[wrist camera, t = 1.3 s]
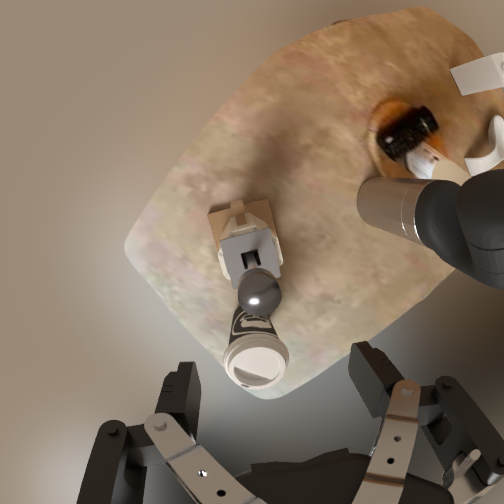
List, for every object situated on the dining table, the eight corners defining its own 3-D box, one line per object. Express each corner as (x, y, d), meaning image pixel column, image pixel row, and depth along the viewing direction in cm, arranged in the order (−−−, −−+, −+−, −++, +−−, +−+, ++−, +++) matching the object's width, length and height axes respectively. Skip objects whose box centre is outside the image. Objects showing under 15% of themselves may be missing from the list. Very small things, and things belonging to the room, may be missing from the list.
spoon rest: (492, 110, 41) (510, 107, 34) (507, 147, 44) (524, 148, 37) (456, 146, 44) (478, 145, 37) (474, 190, 46) (495, 193, 40)
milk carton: (462, 66, 38) (513, 50, 20) (474, 91, 40) (527, 81, 21) (448, 69, 38) (502, 51, 20) (461, 96, 40) (518, 84, 22)
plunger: (263, 229, 34) (283, 260, 21) (272, 265, 35) (295, 314, 22) (225, 239, 34) (221, 276, 21) (235, 275, 35) (238, 329, 22)
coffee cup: (213, 316, 49) (208, 366, 34) (254, 285, 48) (263, 328, 33) (246, 348, 51) (252, 401, 37) (286, 320, 50) (304, 369, 36)
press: (265, 191, 44) (281, 195, 30) (280, 255, 47) (301, 287, 33) (206, 206, 44) (193, 218, 30) (224, 270, 47) (221, 307, 33)
